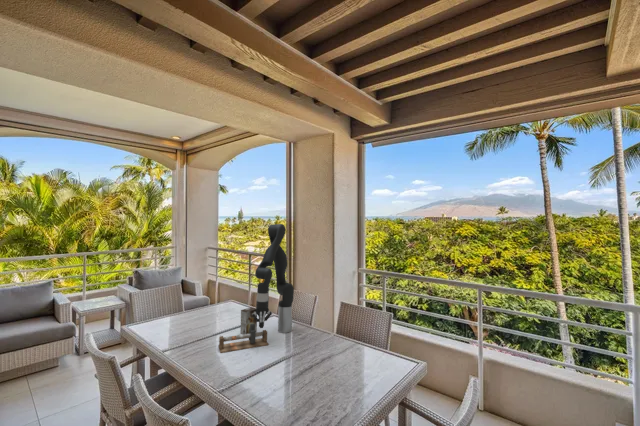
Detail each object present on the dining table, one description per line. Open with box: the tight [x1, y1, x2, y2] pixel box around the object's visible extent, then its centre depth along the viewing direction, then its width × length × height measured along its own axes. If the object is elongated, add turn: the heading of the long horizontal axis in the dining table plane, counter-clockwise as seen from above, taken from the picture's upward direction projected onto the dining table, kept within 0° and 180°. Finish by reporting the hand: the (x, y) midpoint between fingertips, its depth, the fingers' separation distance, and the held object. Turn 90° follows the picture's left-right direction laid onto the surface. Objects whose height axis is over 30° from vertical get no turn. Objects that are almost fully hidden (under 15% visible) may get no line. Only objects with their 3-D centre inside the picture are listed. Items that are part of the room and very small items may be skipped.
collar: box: [248, 324, 257, 344], centre depth 174 cm, size 2×7×10 cm, turn 26°
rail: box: [217, 329, 269, 354], centre depth 172 cm, size 28×10×7 cm, turn 116°
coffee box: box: [239, 306, 258, 335], centre depth 192 cm, size 9×6×16 cm
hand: (261, 327), depth 177 cm, fingers closed
